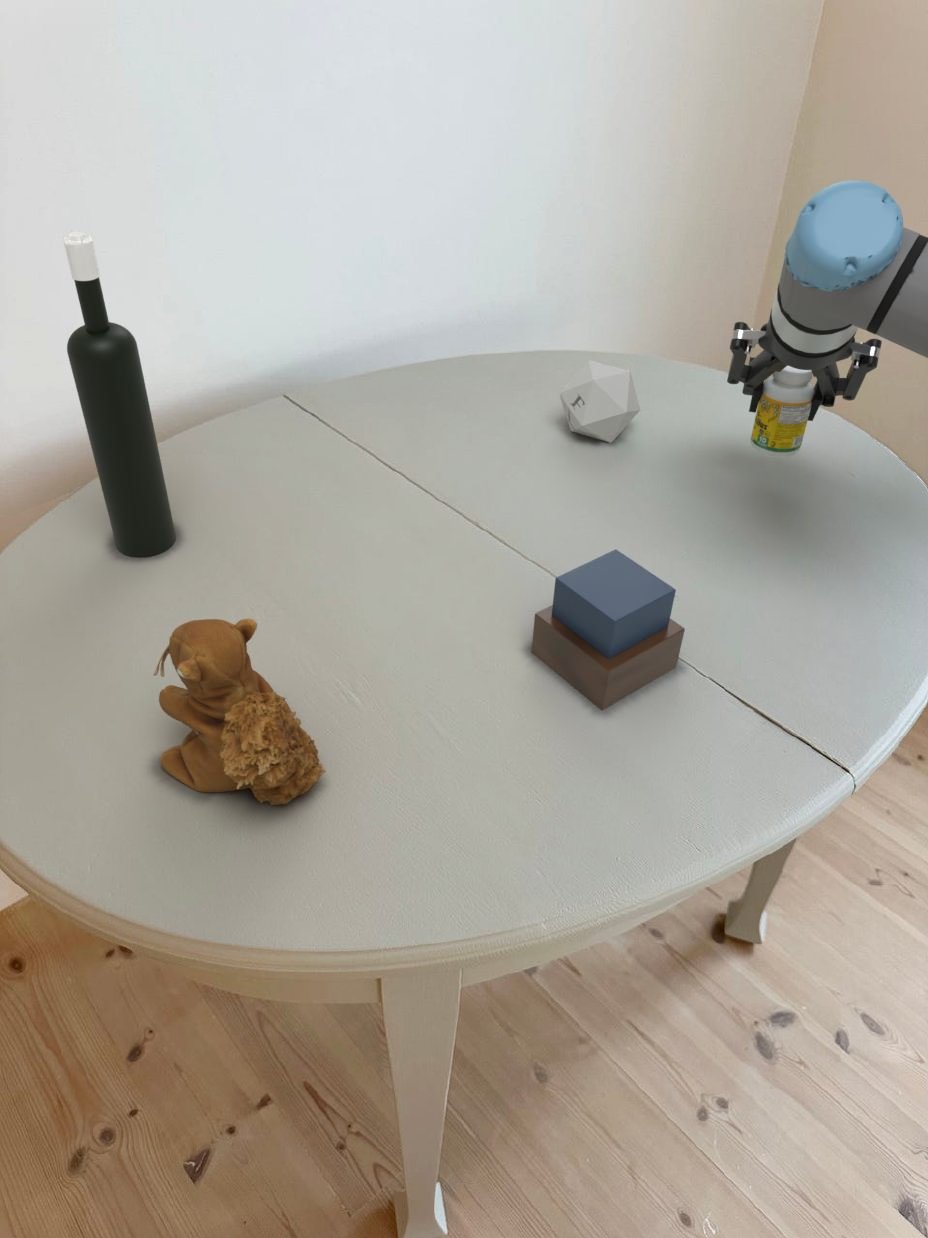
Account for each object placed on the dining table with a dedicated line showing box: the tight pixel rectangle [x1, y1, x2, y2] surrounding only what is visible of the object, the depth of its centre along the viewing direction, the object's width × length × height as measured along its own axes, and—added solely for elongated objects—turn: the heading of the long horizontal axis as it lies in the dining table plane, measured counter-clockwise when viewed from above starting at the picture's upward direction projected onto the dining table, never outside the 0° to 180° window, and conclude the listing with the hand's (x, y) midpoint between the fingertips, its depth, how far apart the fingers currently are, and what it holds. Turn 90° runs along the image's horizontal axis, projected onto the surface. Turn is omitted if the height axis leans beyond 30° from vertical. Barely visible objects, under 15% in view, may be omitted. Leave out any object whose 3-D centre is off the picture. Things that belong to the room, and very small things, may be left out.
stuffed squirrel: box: [153, 618, 327, 806], centre depth 69 cm, size 10×14×13 cm
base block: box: [531, 604, 686, 711], centre depth 82 cm, size 9×9×4 cm
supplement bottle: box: [750, 366, 814, 459], centre depth 102 cm, size 5×5×10 cm
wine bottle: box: [63, 230, 177, 559], centre depth 86 cm, size 6×6×30 cm
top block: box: [552, 549, 677, 659], centre depth 80 cm, size 7×7×4 cm
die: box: [558, 359, 641, 444], centre depth 113 cm, size 8×9×10 cm
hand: (782, 404), depth 106 cm, fingers closed on supplement bottle, 5 cm apart
